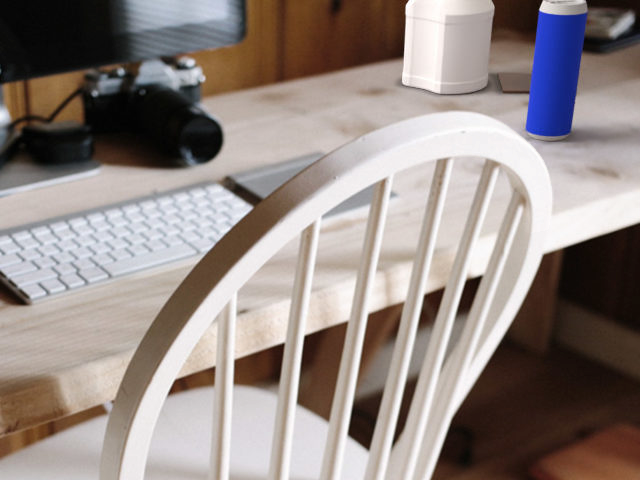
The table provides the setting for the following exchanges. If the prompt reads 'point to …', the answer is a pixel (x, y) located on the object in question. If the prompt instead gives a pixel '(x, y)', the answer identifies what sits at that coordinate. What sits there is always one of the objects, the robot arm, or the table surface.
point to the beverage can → (556, 68)
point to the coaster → (515, 82)
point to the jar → (447, 45)
